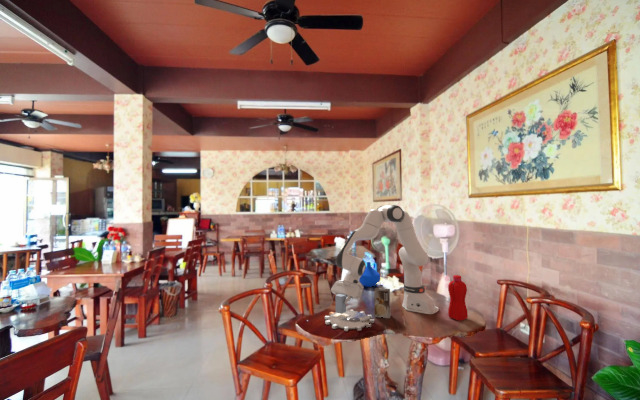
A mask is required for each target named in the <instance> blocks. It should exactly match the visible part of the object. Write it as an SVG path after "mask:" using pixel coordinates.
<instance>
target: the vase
mask: <svg viewBox="0 0 640 400" xmlns="http://www.w3.org/2000/svg"><path fill="white" fill-rule="evenodd" d="M380 280H381V274H380V273H379V272H378V271H377V270H375V268H374V267H372V266H371V261H368V262H366V268H365V271H364V273H363V275H362V276H361V277H360V279H359V282H360V283H361V284H362V286H363V287H365V288H366V287H367V288H373V287H372V286H374V287H376V286H375V284H376V283H377V282H379V283H380Z"/></svg>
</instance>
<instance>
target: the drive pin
mask: <svg viewBox="0 0 640 400" xmlns="http://www.w3.org/2000/svg"><path fill="white" fill-rule="evenodd" d="M334 295H335V299H334V301H335V312H337V313H340V314H342V313H345V312H346V311H347V304H344V303H343V301H344V300H346V299H347V297H346V295H344V294H338V295H336V294H334Z"/></svg>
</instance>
